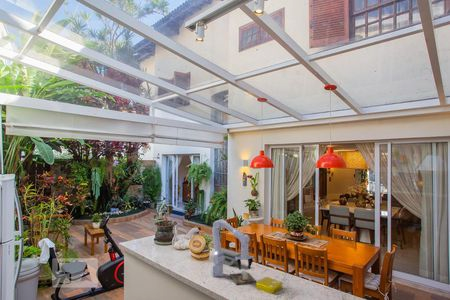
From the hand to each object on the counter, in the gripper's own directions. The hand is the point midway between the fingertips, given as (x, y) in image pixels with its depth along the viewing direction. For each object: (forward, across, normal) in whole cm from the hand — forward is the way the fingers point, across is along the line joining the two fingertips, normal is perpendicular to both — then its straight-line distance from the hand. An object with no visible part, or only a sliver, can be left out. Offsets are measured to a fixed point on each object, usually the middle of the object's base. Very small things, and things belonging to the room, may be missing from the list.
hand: (244, 269), depth 208 cm
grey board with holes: (+9, 0, +4) cm, 10 cm away
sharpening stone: (+10, -1, +41) cm, 42 cm away
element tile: (+10, +14, -14) cm, 23 cm away
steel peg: (+9, 0, 0) cm, 9 cm away
